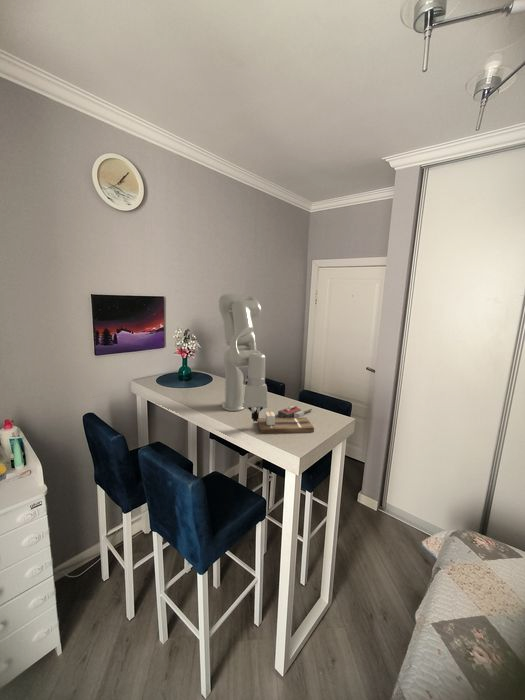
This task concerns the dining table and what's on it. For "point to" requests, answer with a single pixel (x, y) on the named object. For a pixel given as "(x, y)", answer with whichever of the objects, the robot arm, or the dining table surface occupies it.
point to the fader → (270, 418)
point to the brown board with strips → (285, 425)
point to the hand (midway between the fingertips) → (254, 420)
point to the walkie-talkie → (291, 412)
